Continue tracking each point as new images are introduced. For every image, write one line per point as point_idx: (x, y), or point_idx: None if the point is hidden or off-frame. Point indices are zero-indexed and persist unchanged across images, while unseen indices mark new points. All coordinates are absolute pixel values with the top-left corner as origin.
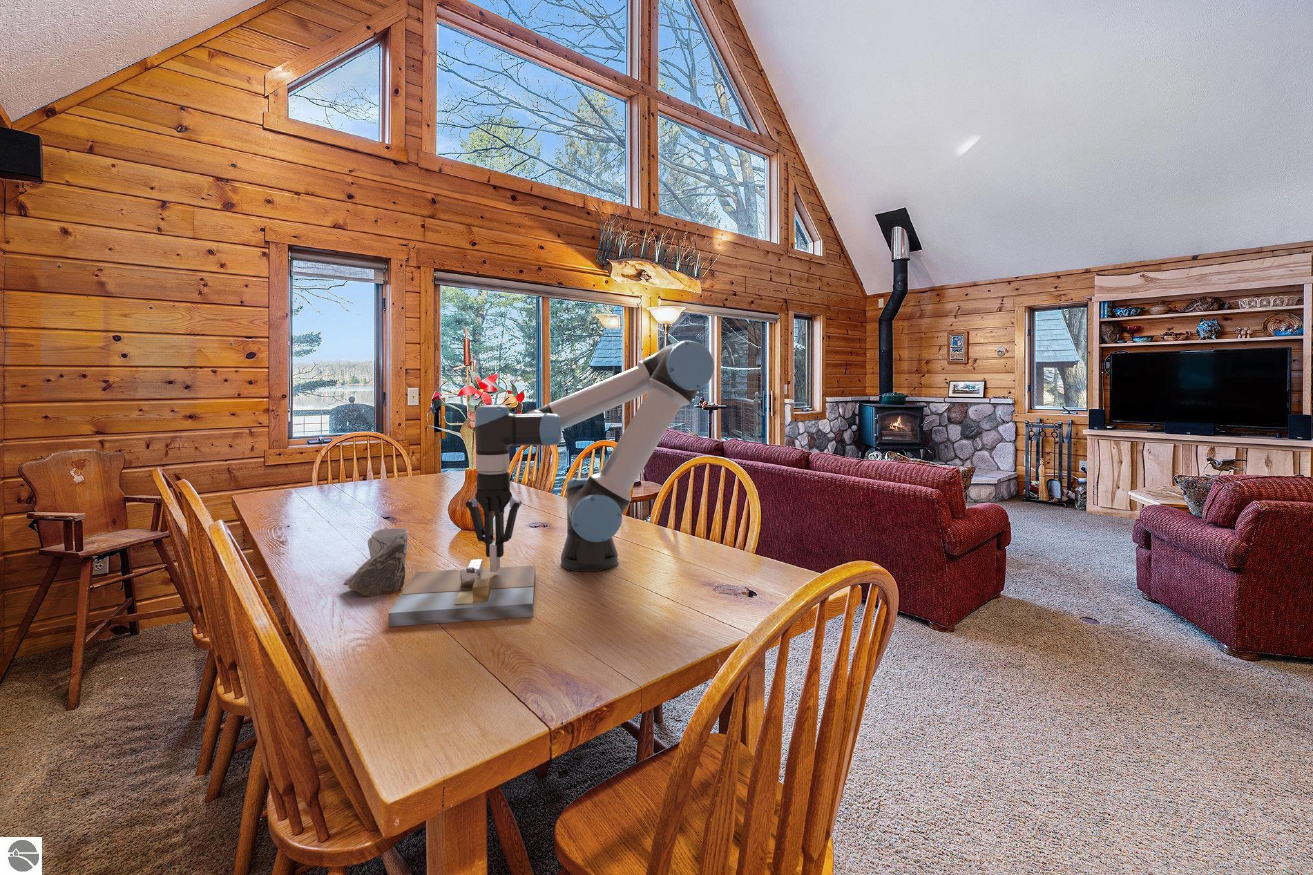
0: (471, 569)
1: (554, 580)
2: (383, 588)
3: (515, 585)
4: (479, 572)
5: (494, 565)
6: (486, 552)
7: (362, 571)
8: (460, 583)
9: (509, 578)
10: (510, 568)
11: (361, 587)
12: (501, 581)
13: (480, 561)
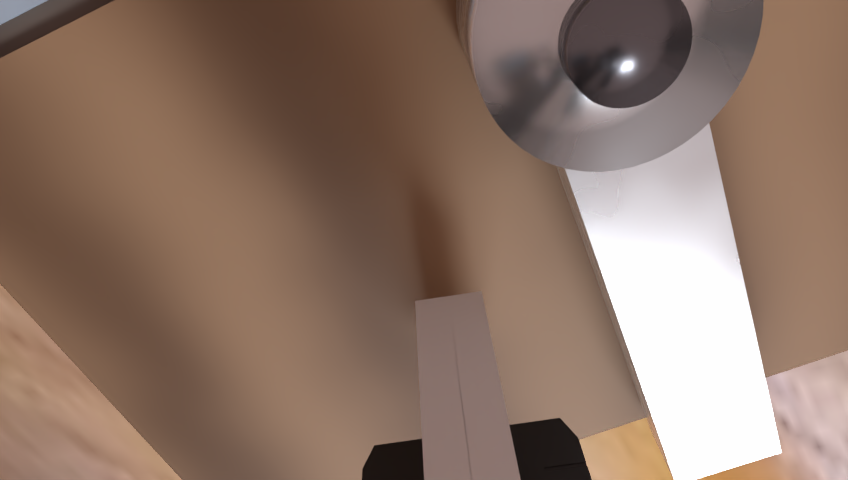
0: (598, 17)
1: (83, 449)
2: None
3: (63, 102)
4: (472, 44)
5: (437, 344)
6: (578, 465)
7: None
8: None
9: (262, 265)
10: None
11: None
12: (289, 174)
13: (669, 436)
